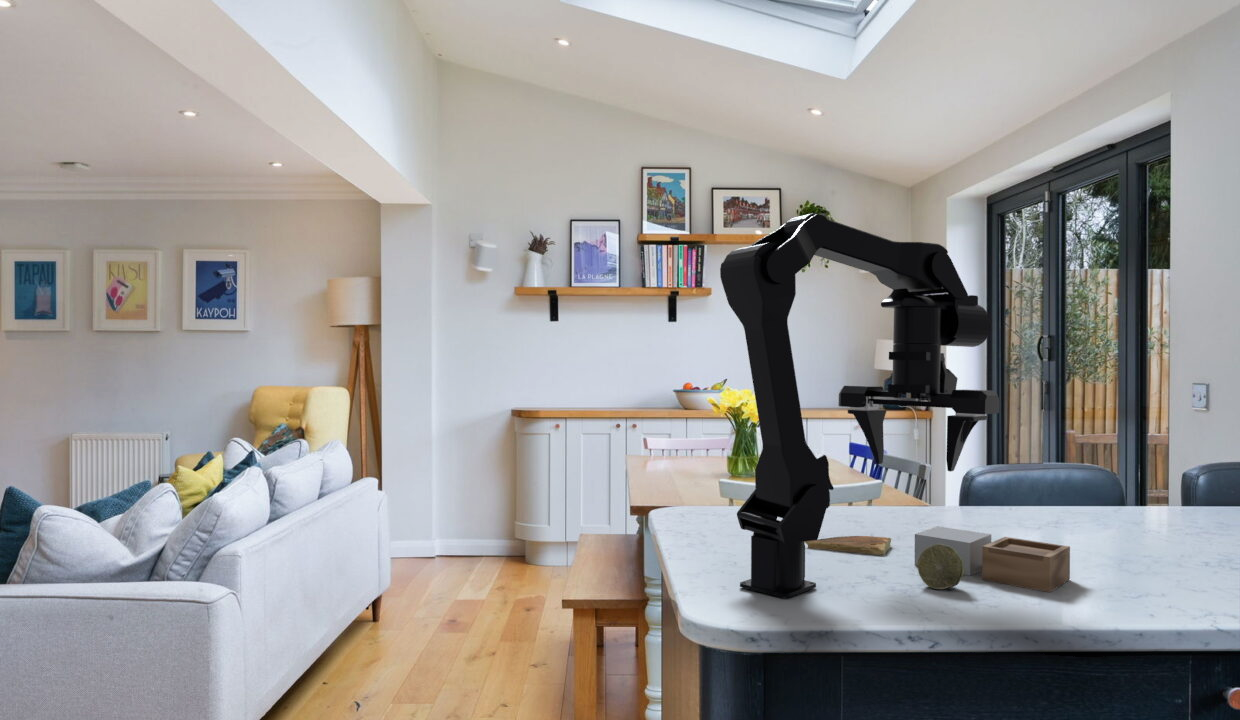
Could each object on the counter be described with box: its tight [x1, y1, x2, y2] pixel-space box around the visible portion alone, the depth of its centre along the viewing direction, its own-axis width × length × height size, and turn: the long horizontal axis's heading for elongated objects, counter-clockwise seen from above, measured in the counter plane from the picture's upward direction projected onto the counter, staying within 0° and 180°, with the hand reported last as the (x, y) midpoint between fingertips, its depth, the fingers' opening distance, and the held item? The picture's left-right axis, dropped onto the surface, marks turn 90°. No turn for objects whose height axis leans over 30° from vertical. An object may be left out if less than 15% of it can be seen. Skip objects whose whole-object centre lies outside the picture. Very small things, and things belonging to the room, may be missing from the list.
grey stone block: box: [914, 526, 992, 576], centre depth 104 cm, size 7×7×4 cm
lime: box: [917, 544, 964, 591], centre depth 94 cm, size 4×5×5 cm
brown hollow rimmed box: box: [981, 536, 1071, 593], centre depth 98 cm, size 8×8×4 cm
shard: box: [805, 535, 892, 556], centre depth 115 cm, size 11×8×2 cm
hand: (914, 467), depth 103 cm, fingers open, 9 cm apart
